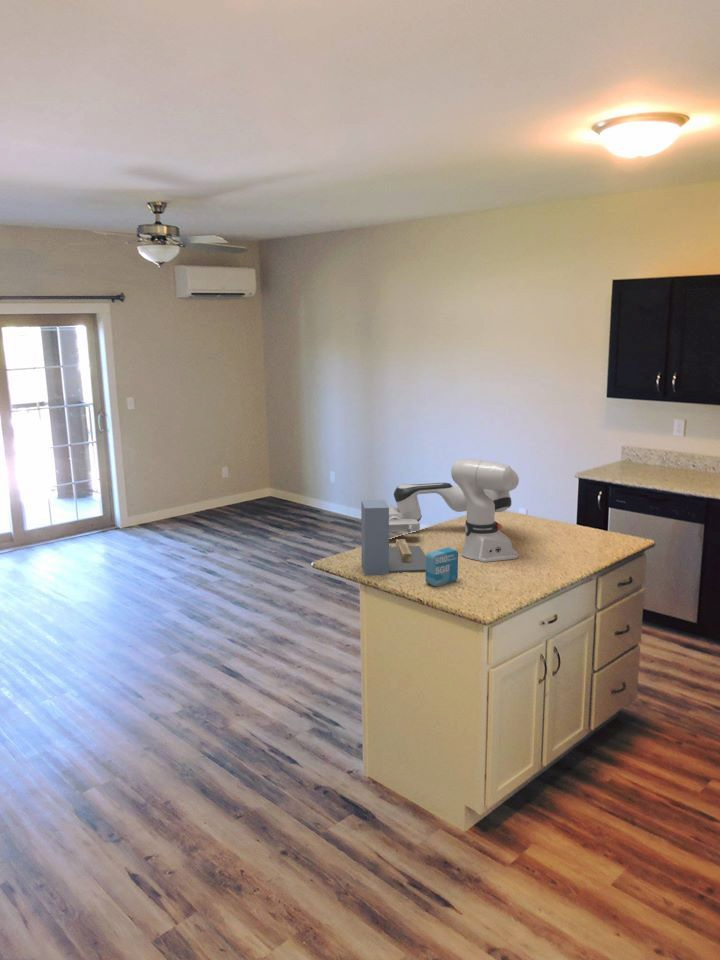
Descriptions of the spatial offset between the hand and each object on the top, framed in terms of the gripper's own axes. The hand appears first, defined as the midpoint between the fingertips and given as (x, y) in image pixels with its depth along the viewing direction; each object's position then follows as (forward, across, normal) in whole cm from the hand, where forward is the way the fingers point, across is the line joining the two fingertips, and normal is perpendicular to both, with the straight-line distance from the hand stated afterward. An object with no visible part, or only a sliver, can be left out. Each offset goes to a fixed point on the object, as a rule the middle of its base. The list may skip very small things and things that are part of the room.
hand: (398, 530), depth 315 cm
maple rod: (+14, 0, -6) cm, 15 cm away
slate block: (+29, +14, -7) cm, 32 cm away
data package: (+45, -9, -7) cm, 46 cm away
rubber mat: (+18, 0, -7) cm, 19 cm away
